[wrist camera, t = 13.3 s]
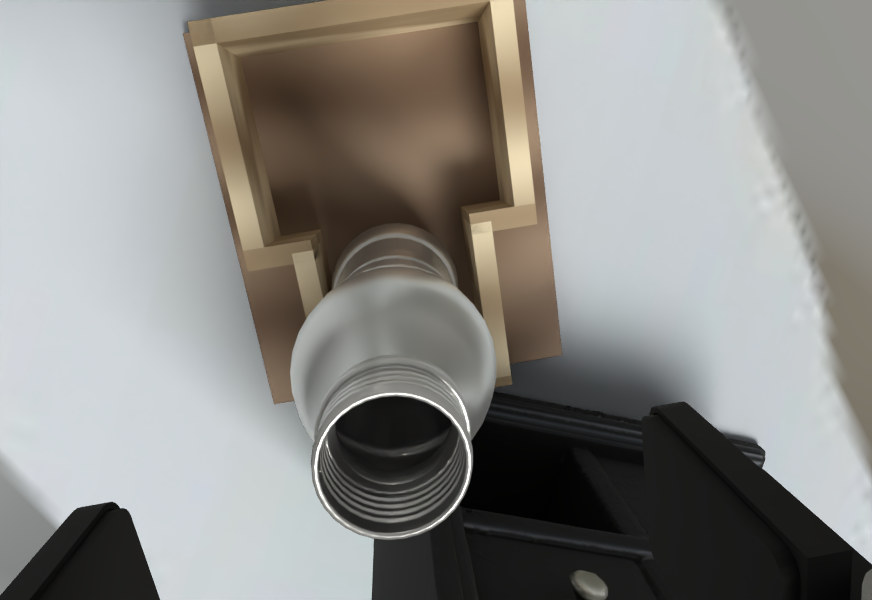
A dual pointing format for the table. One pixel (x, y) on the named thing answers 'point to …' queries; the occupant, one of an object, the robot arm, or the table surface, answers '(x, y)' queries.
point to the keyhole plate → (380, 155)
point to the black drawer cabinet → (539, 515)
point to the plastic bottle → (393, 384)
